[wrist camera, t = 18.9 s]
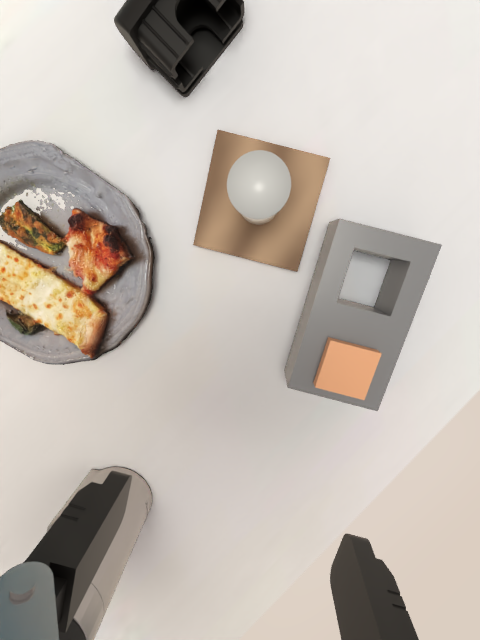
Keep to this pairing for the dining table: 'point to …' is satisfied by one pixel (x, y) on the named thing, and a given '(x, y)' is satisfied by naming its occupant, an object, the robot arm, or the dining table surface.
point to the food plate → (69, 259)
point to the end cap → (180, 35)
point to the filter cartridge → (259, 186)
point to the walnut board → (288, 224)
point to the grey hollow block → (360, 306)
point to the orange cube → (346, 368)
